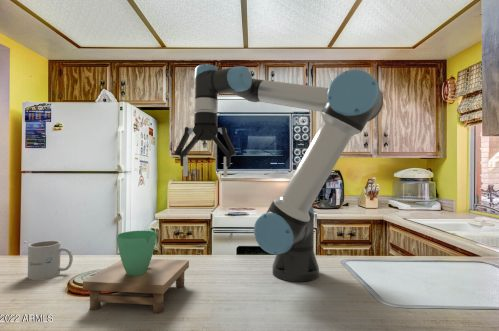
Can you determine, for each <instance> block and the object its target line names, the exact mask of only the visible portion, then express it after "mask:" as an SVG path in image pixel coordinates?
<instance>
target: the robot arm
mask: <svg viewBox="0 0 499 331" xmlns="http://www.w3.org/2000/svg"><path fill="white" fill-rule="evenodd" d="M194 70H195V71H194V78H193V79H194V80H193V81H194V112H195V113H194V117H193V118H194V119H193V120H194V122H193V124H194V125H193V128H191V127H188V126H185V127H184V131H183V135H182V137H181V139H180V140H179V143H178V145H177V148H176V149H175V151H174V154H175V155H177V156H179V158H180V161H179V162H180V166H181V167H182V177H188V175H189V157H188V156H187V155H188V154H189V153H190V151H191V150H192V149H193V148H194V146H195V145H196V144H197V143H198V142H199V141H201V142H205V141H206V142H211V141H213V142H214V143H215V144H216V145H217V147H218V148H219V149H220V150H221V151H222V153H223V154H224V155H225V156H223V177H224V178H226V177H228V168H229V167H231V157H233V156H236V155H237V151H236V150H235V147H234V145H233V144H232V141H231V139H230V137H229V135H228V130H227V128H226V127H225V126H222V127H218V114H217V113H218V95H221V94H222V95H224V94H233V95H235V96H238V97H240V98H242V99H245V100H247V101H248V102H251V103H265V104H272V105H279V106H283V107H290V108H295V109H296V108H297V109H302V110H308V111H315V112H319V113H320V114H321V119H322V122H321V123H320V125H319V127H318V129H317V130H316V133H315V135H314V137H313V138H312V141H311V142H310V144H309V145H308V147H307V149H306V151H305V153H304V155H303V156H302V158H301V160H300V161H299V164H298V166H297V167H296V169H295V171H294V172H293V175H292V177H291V179H290V180H289V182H288V183H287V186H285V189H284V191H283V192H282V194H281V196H278V197H275V198H273V200H272V201H271V204H270V205H269V207H268V208H267V210H266V212H264V213H263V214H261V215H260V216H259V217H258V218H257V219H256V221H255V223H254V227H253V235H254V237H255V242H256V243H257V245H258V246H259V247H260V248H261V249H262V250H263V251H264V252H266V253H267V254H270V255H275V257H274V261H273V264H272V267H271V268H272V272H271V273H272V275H273V276H274V277H276V278H277V279H280V280H283V281H289V282H297V283H298V282H310V281H314V280H316V279H319V276H320V267H319V264H318V260H317V258H316V255H315V251H314V250H315V248H314V246H315V245H314V244H315V241H314V238H315V236H314V235H315V233H314V232H315V227H314V226H315V210H314V207H313V204H314V203H315V200H316V199H317V197H318V195H319V194H320V192H321V190H323V187H324V186H325V184H326V182H327V180H328V178H329V177H330V175H331V173H332V172H333V170H334V168H335V166H336V164H337V162H338V161H339V159H340V158H341V156H342V154H343V153H344V151H345V150H346V147H347V145H348V144H349V142H350V140H351V139H352V137H353V136H356V135H358V134H361V133H362V132H363V130H364V128H365V127H366V125H367V123H368V122H370V121H373V120H374V119H375V118H376V117H378V115H379V114H380V112H381V111H382V109H383V106H384V96H383V93H382V91H381V90H380V89H381V88H380V85H379V82H378V81H377V79H376V78H375V77H374V76H372V75H371V74H370V73H369V72H367V71H365V70H362V69H358V68H357V69H356V68H354V69H349V70H348V69H347V70H346V71H342V72H340V73H339V74H338V75H336V76H335V77H334V78H333V80H332V81H331V83H330V84H329V86H328V87H324V86H323V87H322V86H316V85H314V86H313V85H309V84H307V85H306V84H298V83H292V82H291V83H290V82H283V81H282V82H281V81H273V80H267V79H258V78H253V77H252V74H251V72H250V71H249V68H248V67H246V66H243V65H239V66H233V67H227V68H223V69H218V68H217V66H215V65H213V64H199V65H198V66H196V67H195V69H194ZM218 133H220V134H221V135H222V136H223V139H224V142H225V143H226V145H227V147H228V149H229V150H228V149H227V148H226V147H225V146H224V144H223V143H222V142H221V141H220V139H219V138H218V137H217V134H218ZM192 134H194V136H193V137H192V138H191V140H190V141H189V142H188V144H187V141H188V139H189V137H190V135H192ZM186 144H187V145H186ZM229 151H230V152H229Z"/></svg>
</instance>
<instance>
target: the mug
mask: <svg viewBox="0 0 499 331" xmlns="http://www.w3.org/2000/svg"><path fill="white" fill-rule="evenodd" d="M61 243H62V242H61V241H60V240H44V241H36V242H33V243H29V244H28V246H27V279H28V278H29V279H28V280H30V279H32V280H31V281H43V280H48V279H52V278H55V277H57V276H59V275H60V274H61V272H64V271H65V272H66V271H67V270H69V269H70V268H71V266H72V264H73V259H74V258H73V256H74V255H73V253H72V250H71V249H70V248H68V247H61V245H62V244H61ZM61 252H66V253H67V254H68V257H69V259H68V260H69V262H68V265H66V266H65V267H62V266H61ZM42 279H43V280H42Z"/></svg>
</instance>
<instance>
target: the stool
mask: <svg viewBox="0 0 499 331" xmlns="http://www.w3.org/2000/svg"><path fill="white" fill-rule="evenodd" d="M189 267H190V260H187V259H165V258H163V259H162V258H151V261H150V264H149V266H148V269H147V271H146V273H145V274H142V275H138V276H129V275H127V274H126V271H125V269H124V266H123V264H122V260H121V259H120V260H118V261H117V262H115V263H113V264H112V265H110V266H108V267H106V268H104V269H102V270H100V271H99V272H97V273H95V274H94V275H92V276H90V277H88V278H87V279H85V280H82V290H84V291H89V310H92V311H93V310H99V309H101V306H102V305H101V303H111V304H116V303H117V304H134V305H150V306H151V305H152V313H153V314H161V313H163V312H164V296H165V293H166V292H167V291H168V290H169V289H170V287H172V286H173V284H174V283H175V288H178V289H179V288H180V289H182V288H184V287H185V272H186V270H188V269H189ZM102 291H103V292H104V293H102ZM105 292H116V293H105ZM117 292H122V293H139V294H122V293H121V294H120V293H117ZM141 294H144V295H141ZM145 294H152V295H145Z"/></svg>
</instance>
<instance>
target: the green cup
mask: <svg viewBox="0 0 499 331" xmlns="http://www.w3.org/2000/svg"><path fill="white" fill-rule="evenodd" d="M157 235H158V234H157V232H156V231H155V230H153V229H149V230H133V231H131V230H130V231H124V232H121V233H118V234H117V235H116V244H117V248H118V252H119V257H120V260H122V264H123V266H124V269H125V271H126V274H127V275H129V276H138V275H142V274H145V273H146V271H147V269H148V266H149V264H150V261H151V259H153V258H152V257H153V255H154V250H155V246H156V242H157Z"/></svg>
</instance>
